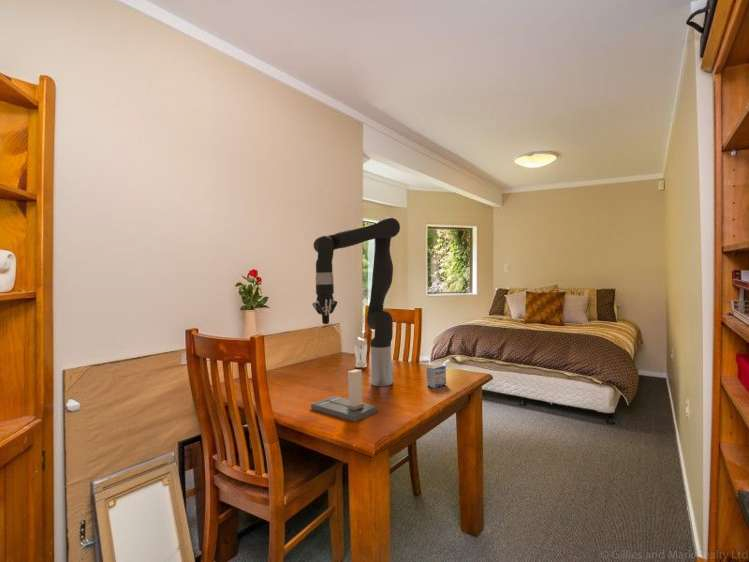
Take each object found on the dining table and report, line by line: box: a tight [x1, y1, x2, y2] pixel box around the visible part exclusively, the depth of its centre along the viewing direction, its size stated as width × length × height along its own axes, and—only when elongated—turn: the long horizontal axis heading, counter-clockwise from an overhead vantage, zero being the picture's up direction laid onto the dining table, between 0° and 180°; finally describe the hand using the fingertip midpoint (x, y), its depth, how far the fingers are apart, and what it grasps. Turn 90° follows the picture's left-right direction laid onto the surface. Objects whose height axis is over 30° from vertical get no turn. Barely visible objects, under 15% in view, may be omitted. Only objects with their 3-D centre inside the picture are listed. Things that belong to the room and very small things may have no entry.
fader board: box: [310, 395, 378, 423], centre depth 143 cm, size 12×22×2 cm, turn 51°
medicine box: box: [426, 364, 447, 389], centre depth 171 cm, size 8×4×9 cm, turn 129°
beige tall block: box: [347, 368, 365, 410], centre depth 139 cm, size 5×4×13 cm
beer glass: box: [353, 337, 368, 369], centre depth 211 cm, size 7×7×15 cm
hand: (325, 323), depth 166 cm, fingers closed
